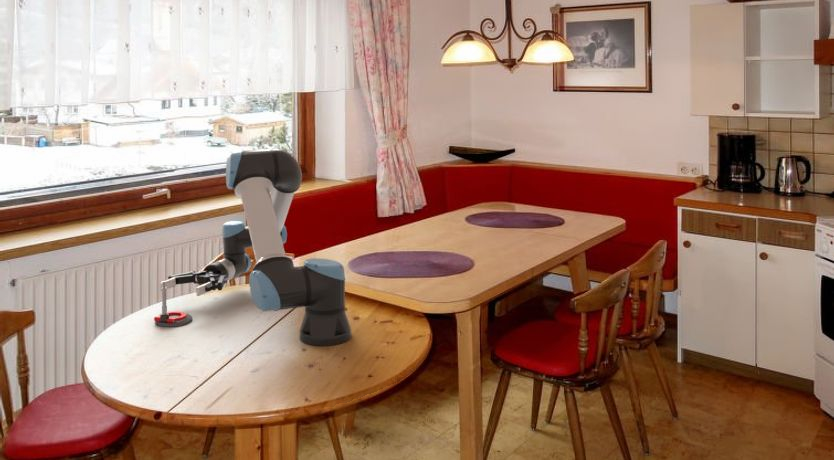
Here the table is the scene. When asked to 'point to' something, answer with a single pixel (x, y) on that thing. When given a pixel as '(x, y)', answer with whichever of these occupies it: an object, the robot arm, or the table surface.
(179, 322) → the plate
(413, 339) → the table surface
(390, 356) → the table surface
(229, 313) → the table surface
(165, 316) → the tow hook
